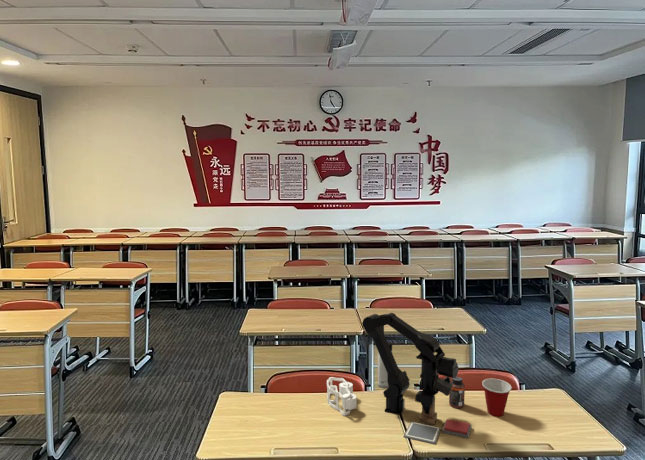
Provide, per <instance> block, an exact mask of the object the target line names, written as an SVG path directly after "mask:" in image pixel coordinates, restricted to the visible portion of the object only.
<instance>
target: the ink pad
mask: <svg viewBox="0 0 645 460" xmlns="http://www.w3.org/2000/svg"><path fill="white" fill-rule="evenodd" d="M471 430H472V424H471V423H468V422H466V421H465V422H464V421H459V420H454V419H449V418H447V419H446V420H445V422H444V424H443V427H442V429H441V431H442V434H446V435H449V436H451V435H452V436H456V437H460V438H464V439H469V437H470V434H471Z"/></svg>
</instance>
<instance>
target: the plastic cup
mask: <svg viewBox="0 0 645 460" xmlns="http://www.w3.org/2000/svg"><path fill="white" fill-rule="evenodd" d="M481 384H482V388H483V390H484V391H483V392H484V398H485V402H486V404H485V405H486V409H487V413H488V415H489V416H492V417H497V418H499V417H502V416H504V414H505V409H506V407H507V402H508V398H509V395H510V392H511V390H512V389H513V387H512V385H511V384H510V383H509V382H507V381H505V380H502V379H498V378H492V377H490V378H485V379H484V380H482V382H481Z"/></svg>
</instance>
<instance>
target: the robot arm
mask: <svg viewBox="0 0 645 460" xmlns="http://www.w3.org/2000/svg"><path fill="white" fill-rule="evenodd" d="M361 325H362V328H363V330H364V331H365V333H366V334H367V335H368V336H369V337H370V338H371V339H372V340H373V342H374V345H375V347H376V350H377V353H378V352H379V355H380V357H381V359H382V362H383V364H384V366H385V369H386V371H387V382H388V386H389V388H388V389H385V390H383V392H382V393H383V397H384V398H385V409H384V412H386V413H390V414H396V415H401V414H402V413H403V411H405V400H406V399H405V398H404V394H405V393H406V391H407V390H408V389H409V388H410V380H411V379H410V378H409V377H408V374H407V371H406V370H404V371H402V370H401V369H400V368H399V366H398V364H397V362H396V359H395V357H394V354H393V351H392V352H391V350H390V347H389V345H388V343H387V342H388V341H387V337H386V336H385V326H387V325H388V326H389V327H391V328H392V329H393V330H395V331H396V332H398V333H399V334H400V335H401V336H403V337H405V338H406V339H407V340H408V341H411V343H412V344H413V345H414V347H415V349H417V351H418V352H420V353H418V355H417V356H415V359H418V360H421V369H420V371H421V373H420V376H419V378H420V379H421V381H420V385H419V389H422V390H419V391H418V392H417V393H416V394H415V397H414V398H415V399H414V401H415V402H416V403H420V405H421V408H422V407H423V409H424V411H425V413H426V414H429V411H430V406H431V404H433V402H434V400H435V401H436V395H437V394H438V393H441V394H443V395H444V396H447V397H448V396H449V393H450V391H451V389H452V386H453V385H452V383H451V382H452V378H456V377H458V375H459V374H458V373H459V365H458V362H457V359H456V358H452V357H451V358H450V357H446V354H445V352H444V350H443V348H442V347H441V346H440V343H439V339H437V338H436V337H434V336H432V335H430V334H427V333H423V332H421V331H419V330H418V329H416V328H414V327H413V326H412V325H410V324H409V323H407V322H406V321H404V320H403V319H402V318H400V317H399V316H397V314H395V313H393V312H389V313H383V314H380V315H379V314H377V313H373V314H370V315H368V316H366V317H365V318H363V320H362V324H361ZM435 353H436V354H435ZM439 375H440V376H444V377H445V378H443V377H442V378H441V377H439ZM434 396H435V398H434Z"/></svg>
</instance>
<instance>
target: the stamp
mask: <svg viewBox="0 0 645 460" xmlns="http://www.w3.org/2000/svg"><path fill="white" fill-rule="evenodd" d="M434 398H435V400H434V402H433V404H431V406H430V411H429V414H426V413H425V411H424V409H423V407H422V406H421V412H420V414H419V418H418V419H419V423H421V424H425V425H430V426H434V425H435V424H436V420H437V419H438V412H436V395H435V396H434Z"/></svg>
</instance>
